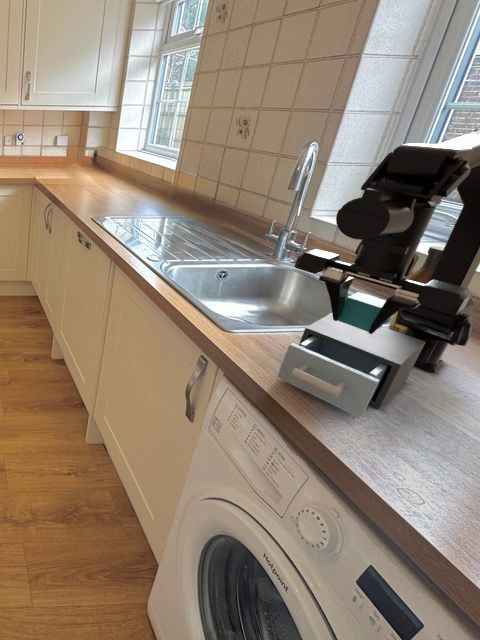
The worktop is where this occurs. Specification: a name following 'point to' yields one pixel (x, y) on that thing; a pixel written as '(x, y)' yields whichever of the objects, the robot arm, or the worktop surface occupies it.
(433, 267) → the sauce bottle
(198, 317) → the worktop surface
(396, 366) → the grey drawer box
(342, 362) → the dispenser drawer
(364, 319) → the teal cube white top
